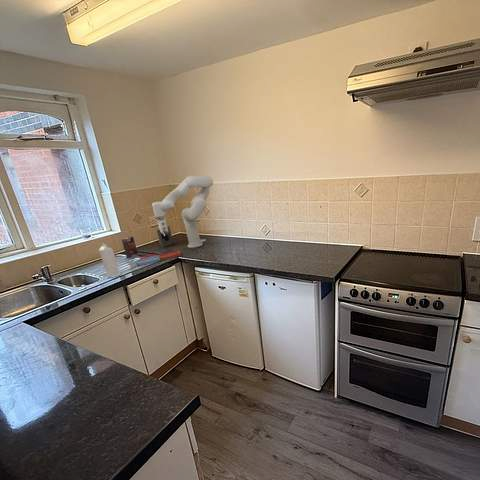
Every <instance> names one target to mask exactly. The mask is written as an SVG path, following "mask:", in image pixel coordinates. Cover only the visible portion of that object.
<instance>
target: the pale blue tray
mask: <svg viewBox="0 0 480 480" xmlns="http://www.w3.org/2000/svg"><path fill="white" fill-rule="evenodd" d="M135 262H136V264H137V265H138V266H139V267H141V266H145V265H149V264H153V263H158V262H161V260H160V258H159V257H158V254H155V256H151V257H147V258H143V259H140V258H139V259H136V260H135Z"/></svg>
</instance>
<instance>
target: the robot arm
mask: <svg viewBox="0 0 480 480" xmlns="http://www.w3.org/2000/svg"><path fill="white" fill-rule="evenodd" d="M213 184H214V180H213V178H212V177H211V176H208V175H207V176H203V175H202V176H201V175H188V176H186V177H185V178H184V179H183V180H182V181H181V182H180V183H179V184H178V186H176V188H174V189H173V190H172V191H171V192H169V193H168V194H167V195H166V196H165V197H164V199H162V201H155V202H152V203H151V205H152V210H153V214H154V218H155V222H157V225H158V229H160V232H161V236H162V239H165V241H169V237H168V234H167V232H169V231H168V227H167V226H168V224H167V221H166V220H167V218H166V216H167V215H166V213H165V211H173V209H174V208H175V203H176V202H177V201H178V200H180V199H183V198H184V197H186V196H187V194H188V193H189V192H190V191H191V190H192V189H193V188H197V189H198V188H199V189H198V191H197V192H196V194H195V195H194V197H193V198H192V199H191V201H190V207H185V208H184V209H182V211H181V217H182V220H183V223H184V228H185V232H186V236H187V241H188V244H187V248H190V249H193V248H199V247H202V246H203V245H204V243H205V242H207V239H205V238H204V239H201V238H200V232H199V230H198V229H199V228H198V223H197V220H198V219H199V218H200V216H201V215H202V214H203V212H205V210H206V207H207V202H206V201H207V199H208V198H209V195H210V188H212V186H213Z"/></svg>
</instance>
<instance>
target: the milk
mask: <svg viewBox="0 0 480 480" xmlns="http://www.w3.org/2000/svg"><path fill="white" fill-rule="evenodd" d="M101 245H102V246H100V248H99V249H98V252H99V255H100V257H101V261H102V263H103V267H104V271H105V273H106V275H107V278H111V279H112V278H115V277H119V276H121V272H120V268H119V266H118V261H117V258H116V256H115V253H114V249H113V247H109V246H107V244H105V243H101Z"/></svg>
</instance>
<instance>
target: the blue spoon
mask: <svg viewBox="0 0 480 480" xmlns="http://www.w3.org/2000/svg"><path fill="white" fill-rule="evenodd" d="M172 251H174V249H168V250H164V251H161V252H158V253H157V256H158V255H160V254H164V253H168V252H172Z"/></svg>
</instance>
